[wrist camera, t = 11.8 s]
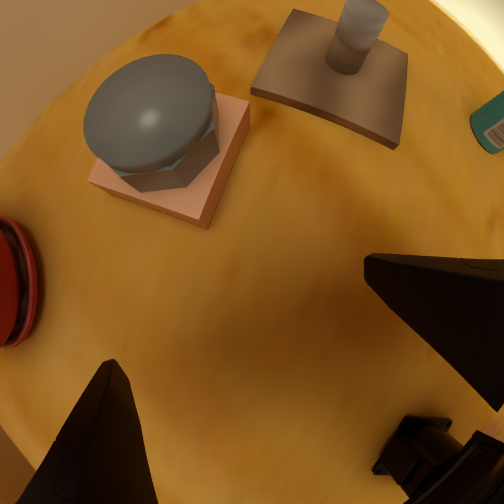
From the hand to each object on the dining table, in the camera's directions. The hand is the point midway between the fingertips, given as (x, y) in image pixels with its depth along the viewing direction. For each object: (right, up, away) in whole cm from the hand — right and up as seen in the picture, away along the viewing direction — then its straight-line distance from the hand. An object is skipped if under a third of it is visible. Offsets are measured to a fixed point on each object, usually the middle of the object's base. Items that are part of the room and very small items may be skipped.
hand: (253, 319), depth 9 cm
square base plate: (+8, +18, +11) cm, 22 cm away
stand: (-5, +9, +10) cm, 15 cm away
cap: (-5, +9, +7) cm, 12 cm away
